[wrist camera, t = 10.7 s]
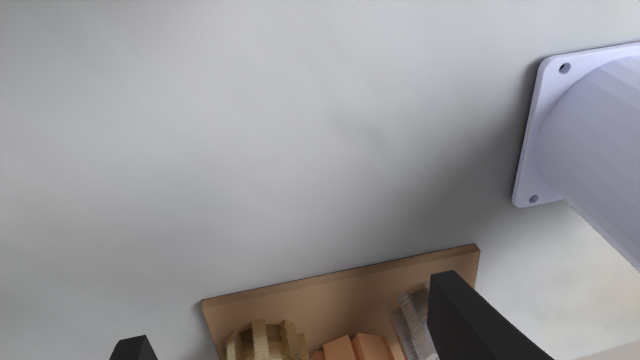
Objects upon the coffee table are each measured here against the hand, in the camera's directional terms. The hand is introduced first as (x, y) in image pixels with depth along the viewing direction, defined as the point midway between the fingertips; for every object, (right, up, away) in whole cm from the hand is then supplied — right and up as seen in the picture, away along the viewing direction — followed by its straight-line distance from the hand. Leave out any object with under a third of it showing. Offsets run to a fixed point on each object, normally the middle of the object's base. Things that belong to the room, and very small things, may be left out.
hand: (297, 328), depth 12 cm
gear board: (+2, -5, +16) cm, 17 cm away
